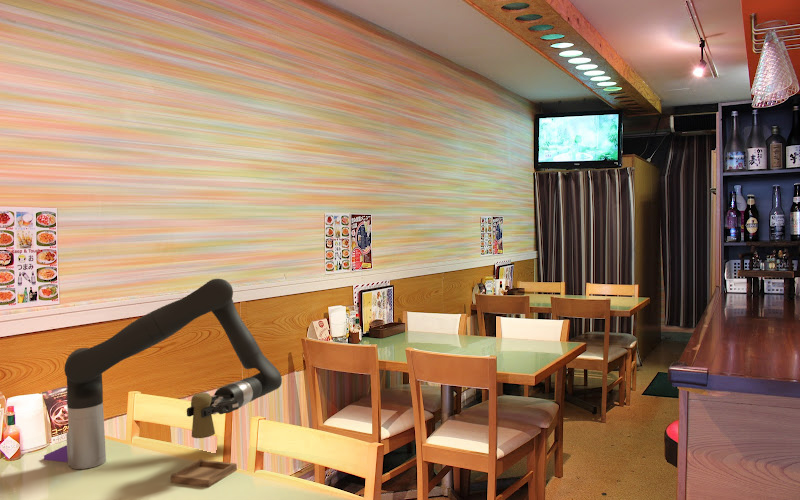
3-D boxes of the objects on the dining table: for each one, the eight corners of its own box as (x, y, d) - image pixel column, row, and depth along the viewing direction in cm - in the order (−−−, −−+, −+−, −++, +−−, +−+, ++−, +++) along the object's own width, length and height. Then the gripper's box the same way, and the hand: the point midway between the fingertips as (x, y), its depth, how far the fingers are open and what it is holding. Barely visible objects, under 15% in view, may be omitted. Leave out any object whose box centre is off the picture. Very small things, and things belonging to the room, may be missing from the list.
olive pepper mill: (208, 438, 164) (205, 397, 164) (187, 438, 165) (184, 396, 165) (219, 431, 170) (216, 391, 170) (198, 430, 171) (196, 390, 171)
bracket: (94, 455, 189) (92, 433, 189) (75, 463, 182) (74, 440, 182) (63, 452, 193) (62, 430, 193) (44, 460, 186) (42, 437, 186)
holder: (171, 482, 164) (170, 475, 164) (200, 465, 176) (200, 459, 175) (208, 487, 160) (208, 480, 160) (236, 470, 171) (236, 463, 171)
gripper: (212, 382, 183) (172, 397, 167) (254, 384, 178) (216, 400, 162) (214, 407, 184) (173, 425, 167) (255, 410, 179) (218, 429, 162)
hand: (195, 413), depth 165 cm, fingers closed on olive pepper mill, 4 cm apart
